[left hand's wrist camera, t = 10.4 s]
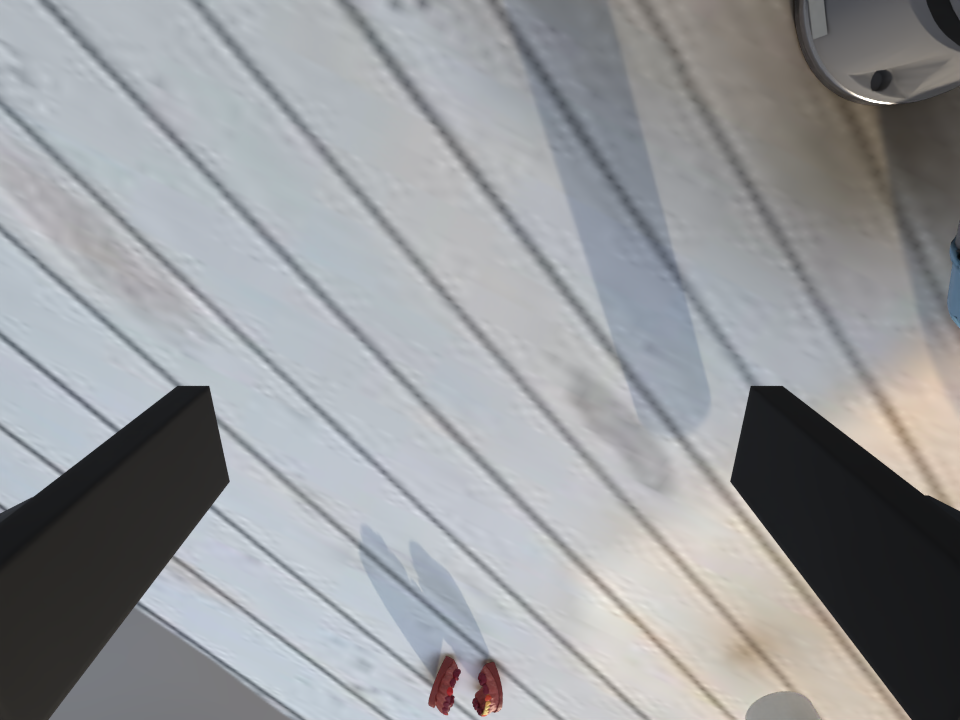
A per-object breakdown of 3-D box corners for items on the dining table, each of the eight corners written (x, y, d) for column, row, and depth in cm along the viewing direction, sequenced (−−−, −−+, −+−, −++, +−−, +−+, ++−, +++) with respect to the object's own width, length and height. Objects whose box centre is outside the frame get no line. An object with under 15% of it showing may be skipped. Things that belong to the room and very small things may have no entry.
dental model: (497, 733, 56) (424, 724, 56) (496, 696, 60) (428, 687, 60) (507, 696, 54) (432, 686, 54) (505, 661, 58) (435, 651, 58)
